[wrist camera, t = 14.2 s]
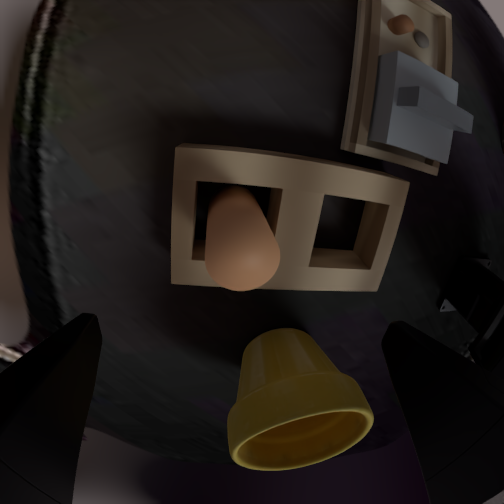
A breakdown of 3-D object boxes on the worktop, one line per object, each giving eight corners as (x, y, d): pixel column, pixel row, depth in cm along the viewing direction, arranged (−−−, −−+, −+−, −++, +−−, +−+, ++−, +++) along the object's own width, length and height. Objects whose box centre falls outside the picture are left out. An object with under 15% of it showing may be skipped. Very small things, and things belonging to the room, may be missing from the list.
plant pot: (321, 382, 28) (349, 458, 19) (223, 390, 26) (231, 477, 18) (345, 305, 23) (397, 393, 14) (220, 312, 22) (228, 421, 13)
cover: (435, 83, 15) (478, 83, 11) (425, 157, 17) (467, 171, 13) (377, 56, 14) (418, 45, 10) (365, 139, 16) (406, 148, 12)
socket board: (386, 172, 18) (410, 182, 16) (359, 270, 22) (376, 291, 19) (182, 142, 16) (175, 147, 13) (176, 260, 19) (171, 283, 17)
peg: (260, 187, 18) (286, 226, 12) (254, 233, 19) (273, 292, 13) (210, 182, 17) (207, 220, 11) (206, 230, 19) (203, 288, 12)
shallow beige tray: (441, 19, 13) (456, 15, 11) (426, 172, 19) (442, 178, 17) (358, -24, 11) (371, -33, 9) (340, 148, 17) (353, 152, 15)
